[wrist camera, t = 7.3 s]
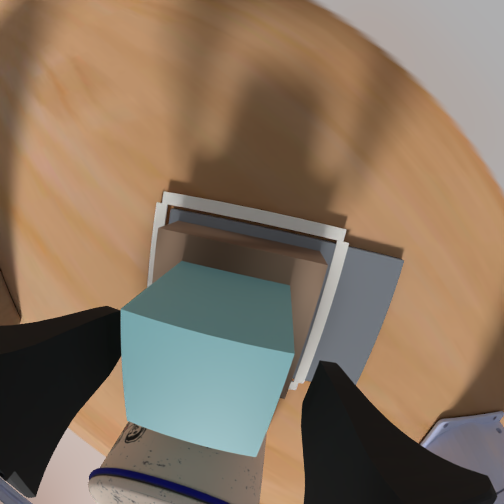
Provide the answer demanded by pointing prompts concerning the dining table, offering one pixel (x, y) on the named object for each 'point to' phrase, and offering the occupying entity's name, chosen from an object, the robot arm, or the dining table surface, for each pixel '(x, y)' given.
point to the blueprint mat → (334, 285)
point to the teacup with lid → (174, 472)
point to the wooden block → (7, 306)
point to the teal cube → (207, 356)
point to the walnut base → (248, 267)
